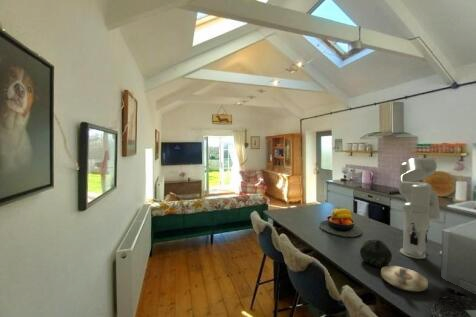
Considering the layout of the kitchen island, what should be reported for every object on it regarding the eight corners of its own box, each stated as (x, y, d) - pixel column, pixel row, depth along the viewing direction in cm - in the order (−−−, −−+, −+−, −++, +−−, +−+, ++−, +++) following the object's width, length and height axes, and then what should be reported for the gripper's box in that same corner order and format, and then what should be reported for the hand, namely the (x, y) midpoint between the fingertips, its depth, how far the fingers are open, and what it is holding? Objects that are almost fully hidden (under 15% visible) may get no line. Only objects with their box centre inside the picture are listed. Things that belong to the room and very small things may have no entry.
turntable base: (397, 273, 118) (398, 269, 118) (429, 288, 105) (429, 284, 105) (379, 278, 113) (379, 275, 113) (409, 295, 100) (409, 291, 100)
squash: (364, 244, 140) (362, 231, 131) (393, 252, 130) (393, 238, 122) (359, 266, 132) (356, 253, 124) (390, 276, 123) (389, 263, 114)
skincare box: (421, 253, 114) (422, 229, 113) (410, 249, 118) (411, 227, 117) (425, 249, 118) (426, 226, 117) (415, 246, 121) (416, 224, 120)
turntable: (427, 277, 110) (427, 261, 110) (428, 296, 96) (429, 277, 96) (383, 265, 121) (383, 251, 121) (378, 281, 107) (379, 264, 107)
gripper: (422, 205, 123) (420, 237, 124) (400, 209, 117) (399, 243, 118) (438, 208, 116) (437, 243, 117) (416, 213, 110) (415, 249, 111)
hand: (418, 242), depth 117 cm, fingers closed on skincare box, 6 cm apart
